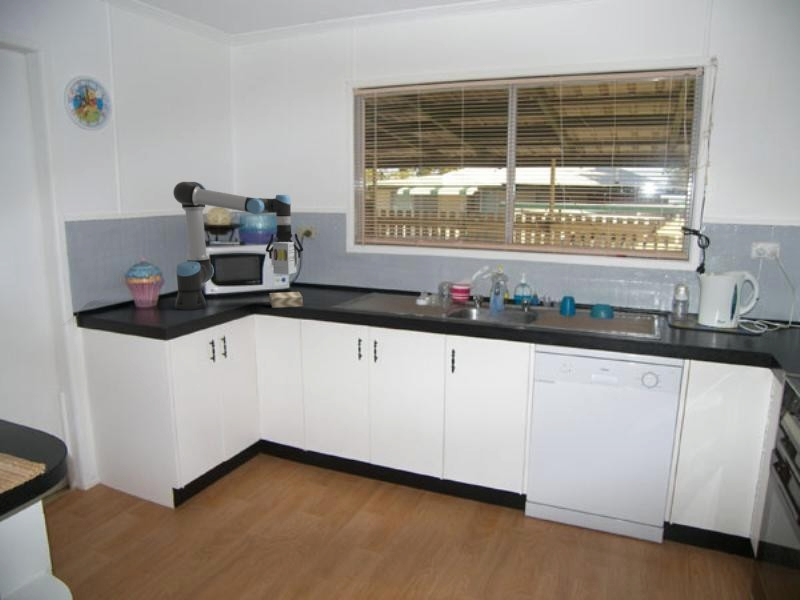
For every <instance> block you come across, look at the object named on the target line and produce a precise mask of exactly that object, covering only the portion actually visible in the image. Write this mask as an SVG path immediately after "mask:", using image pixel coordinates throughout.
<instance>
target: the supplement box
mask: <svg viewBox="0 0 800 600" xmlns="http://www.w3.org/2000/svg"><path fill="white" fill-rule="evenodd" d="M294 244H295V245H296V246H297V241H292V242H289V241H288V242H276V241H272V246H273V251H272V252H273V265H272V266H273V270H272V271H273V274H274V275H275V274H276V275H292V274H295V273H297V264H296V252H297V250H296V249H295V248H294Z"/></svg>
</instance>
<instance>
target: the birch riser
mask: <svg viewBox="0 0 800 600" xmlns="http://www.w3.org/2000/svg"><path fill="white" fill-rule="evenodd" d="M303 300H304V299H303V296H302V294H301V293H300V292H299V291H290V292H289V291H287V292H284V291H283V292H269V303H270V305H271V308H274V309H276V308H289V307H290V308H292V307H293V308H294V307H295V308H296V307H297V308H298V307H303V306H304V303H303V302H304V301H303Z"/></svg>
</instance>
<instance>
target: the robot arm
mask: <svg viewBox="0 0 800 600" xmlns="http://www.w3.org/2000/svg"><path fill="white" fill-rule="evenodd" d="M172 193H173V197H174V199H175V200H176V201H177V202H178V203H179V204H181V207H182V209H183V210H184V211H185V217H186V218H185V219H186V220H185V221H186V230H187V241H188V251H189V256H188V258H187V259H186V261H184V262H183V261H182V262H179V263H178V264H176V270H175V271H176V282H177V283H176V284H177V296H176V300H175V305H174V306H175V309H177V310H183V311H187V310H190V311H191V310H199V309H203V308H206V306H207V302H206V299H205V297H204V296H205V295H204V294H203V292H202V291H203V289H202V284H204V283H206V282H208V281H210V280H211V279H212V277H213V276H214V273H215V272H214V271H215V270H214V266H213V264H212V263H211V258H210V257H209V256H208V255H207V246H206V234H205V224H204V223H205V222H204V221H205V220H204V213H203V211H204V210H205V208H206V206H211V207H216V208H220V209H221V208H222V209H228V210H233V211H239V212H246V213H249V214H250V213H251V214H252V215H260V214H276V215H275V216H276V217H275V220H276V234H275V233H271V234H270V239H269V241H268V243H267V245H266V247H265V252H267V253H268V258H269V259H270V260H271V266H273V245H272V244H273V242H274V241H273V240H274V239H275V238H277V240H276V241H275V242H293V240H292V237H293V239H294V240H295V242H296V245H295V244H294V248H295V249H296V265H299V259H300V258H301V252H303V251H304V248H303V245H302V244H301V242H300V240H299V236H298V234H297V233H296V232H295V233H292V225H291V224H292V217H291V216H292V214H291V213H292V211H291V197H290V195H289V194H276V195H275V197H274V198H266V197H265V198H262V197H260V198H259V197H258V198H255V197H249V196H245V195H237V194H232V193H227V192H220V191H215V190H214V191H213V190H209V189H206V187H205V186H204V185H203V184H201V183H200V182H196V181H181V182H180V181H179V182H178V183H177V184H176V185H175V186H174V188H173V192H172ZM271 245H272V246H271ZM297 245H298V246H297Z"/></svg>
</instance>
